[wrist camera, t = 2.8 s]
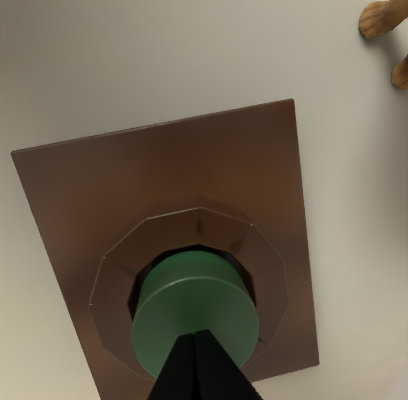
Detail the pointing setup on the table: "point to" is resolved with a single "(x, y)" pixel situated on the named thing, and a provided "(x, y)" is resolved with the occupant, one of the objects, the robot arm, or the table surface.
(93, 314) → the button box
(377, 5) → the lion figurine
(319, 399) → the table surface
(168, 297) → the button
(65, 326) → the table surface
